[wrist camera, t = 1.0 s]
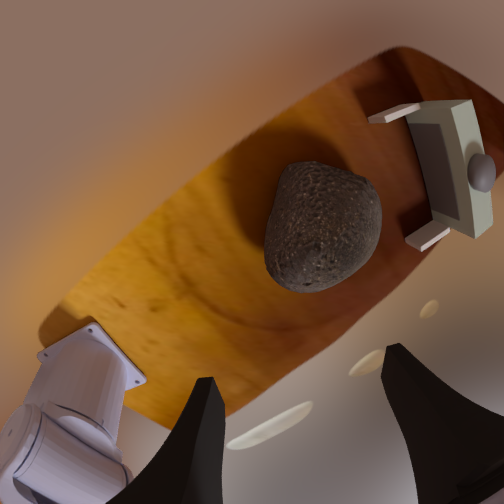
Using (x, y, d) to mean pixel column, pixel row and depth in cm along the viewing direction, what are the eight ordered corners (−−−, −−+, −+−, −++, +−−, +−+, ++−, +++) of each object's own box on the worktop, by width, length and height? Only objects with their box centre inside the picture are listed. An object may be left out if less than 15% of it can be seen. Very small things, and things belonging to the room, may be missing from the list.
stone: (331, 157, 26) (279, 123, 17) (409, 210, 22) (397, 196, 14) (277, 244, 29) (208, 249, 21) (344, 301, 26) (297, 334, 18)
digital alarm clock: (405, 242, 26) (454, 271, 19) (367, 117, 21) (423, 115, 15) (452, 211, 26) (501, 232, 19) (422, 96, 21) (478, 93, 14)
